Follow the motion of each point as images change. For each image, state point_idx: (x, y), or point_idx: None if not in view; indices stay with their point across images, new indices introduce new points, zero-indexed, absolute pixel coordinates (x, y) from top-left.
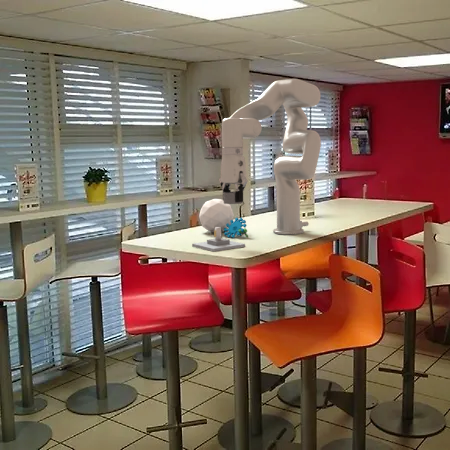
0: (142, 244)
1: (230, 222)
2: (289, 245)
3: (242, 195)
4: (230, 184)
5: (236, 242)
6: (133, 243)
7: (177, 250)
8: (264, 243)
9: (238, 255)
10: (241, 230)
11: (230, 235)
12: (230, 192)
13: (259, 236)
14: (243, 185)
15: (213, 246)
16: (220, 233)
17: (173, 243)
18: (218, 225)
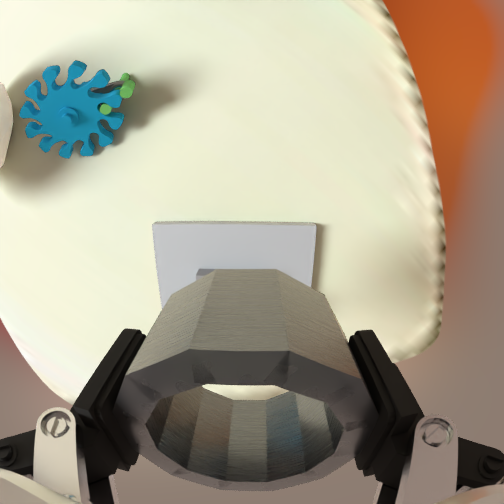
0: None
1: (3, 94)
2: (406, 86)
3: (408, 388)
4: (83, 490)
5: (259, 229)
6: (67, 393)
7: None
8: (309, 112)
9: (400, 326)
10: (116, 105)
11: (90, 143)
12: (148, 416)
13: (151, 32)
14: (488, 475)
15: None
16: None
17: (98, 349)
18: (3, 149)
